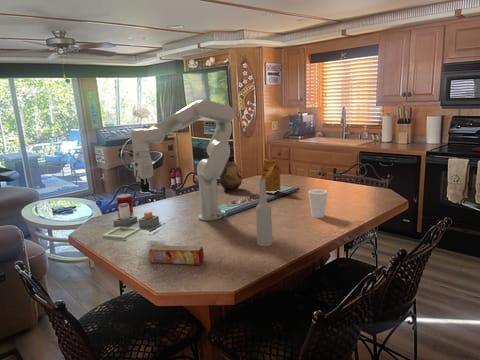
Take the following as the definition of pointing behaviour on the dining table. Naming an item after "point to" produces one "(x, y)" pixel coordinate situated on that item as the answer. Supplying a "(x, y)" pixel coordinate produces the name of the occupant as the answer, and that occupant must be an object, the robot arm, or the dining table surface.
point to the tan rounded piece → (148, 215)
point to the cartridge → (124, 211)
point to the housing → (138, 222)
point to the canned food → (125, 200)
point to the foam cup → (318, 202)
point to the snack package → (176, 254)
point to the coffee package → (271, 175)
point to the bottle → (263, 218)
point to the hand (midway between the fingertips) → (145, 191)
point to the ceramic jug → (231, 174)
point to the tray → (120, 236)
